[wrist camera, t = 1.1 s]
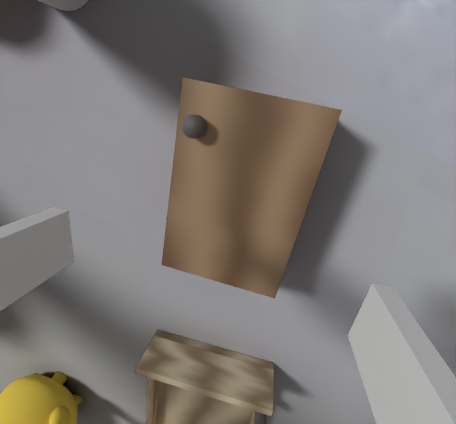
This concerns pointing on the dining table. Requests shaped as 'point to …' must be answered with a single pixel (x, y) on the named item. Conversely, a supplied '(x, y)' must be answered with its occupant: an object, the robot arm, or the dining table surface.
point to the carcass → (204, 383)
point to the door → (242, 182)
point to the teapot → (39, 401)
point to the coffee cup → (65, 4)
